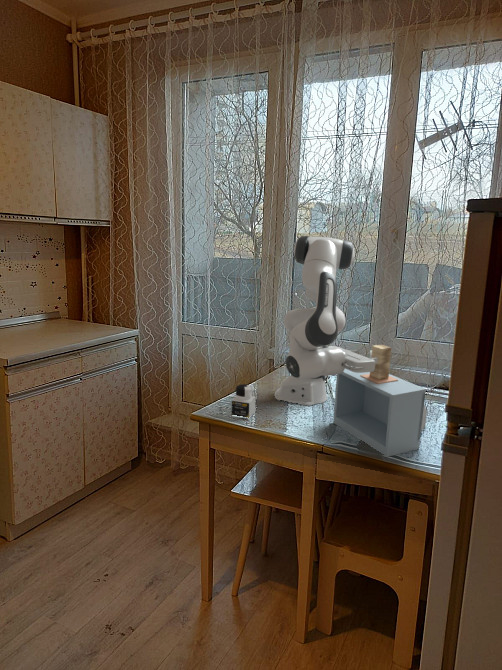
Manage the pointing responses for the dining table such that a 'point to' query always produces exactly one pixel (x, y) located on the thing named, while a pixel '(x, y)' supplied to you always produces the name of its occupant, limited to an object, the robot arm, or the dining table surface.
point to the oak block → (381, 361)
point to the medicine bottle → (243, 401)
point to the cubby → (380, 411)
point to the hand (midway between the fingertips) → (366, 356)
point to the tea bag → (424, 418)
